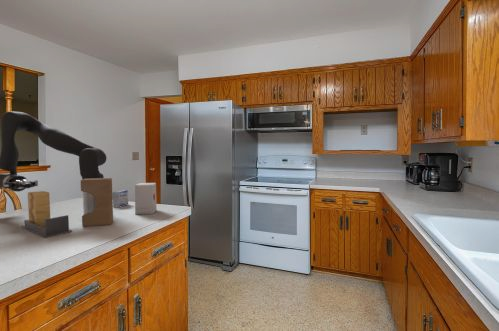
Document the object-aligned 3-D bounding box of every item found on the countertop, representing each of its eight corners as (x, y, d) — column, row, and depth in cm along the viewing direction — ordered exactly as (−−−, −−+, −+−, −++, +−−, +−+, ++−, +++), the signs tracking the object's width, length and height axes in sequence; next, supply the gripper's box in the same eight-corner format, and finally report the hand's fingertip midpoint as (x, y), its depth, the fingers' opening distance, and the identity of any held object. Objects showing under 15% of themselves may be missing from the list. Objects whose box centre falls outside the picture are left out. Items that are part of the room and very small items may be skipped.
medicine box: (119, 207, 153) (119, 192, 153) (112, 207, 154) (112, 191, 154) (128, 204, 161) (128, 190, 161) (121, 204, 162) (121, 189, 162)
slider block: (29, 225, 115) (27, 192, 114) (43, 222, 119) (41, 190, 118) (36, 228, 110) (34, 194, 110) (50, 225, 115) (49, 192, 114)
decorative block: (81, 227, 115) (79, 180, 113) (86, 223, 120) (84, 178, 119) (110, 225, 117) (108, 179, 116) (113, 221, 123) (112, 177, 122)
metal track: (21, 227, 115) (20, 211, 114) (46, 222, 122) (45, 207, 122) (44, 237, 101) (43, 220, 100) (71, 231, 108) (70, 215, 108)
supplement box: (153, 214, 137) (152, 184, 136) (134, 214, 136) (134, 185, 135) (157, 210, 146) (156, 182, 145) (139, 210, 145) (138, 182, 144)
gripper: (-4, 176, 124) (8, 178, 114) (32, 174, 135) (45, 176, 125) (-3, 192, 124) (9, 196, 115) (32, 189, 135) (46, 192, 126)
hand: (28, 185), depth 120 cm, fingers closed
